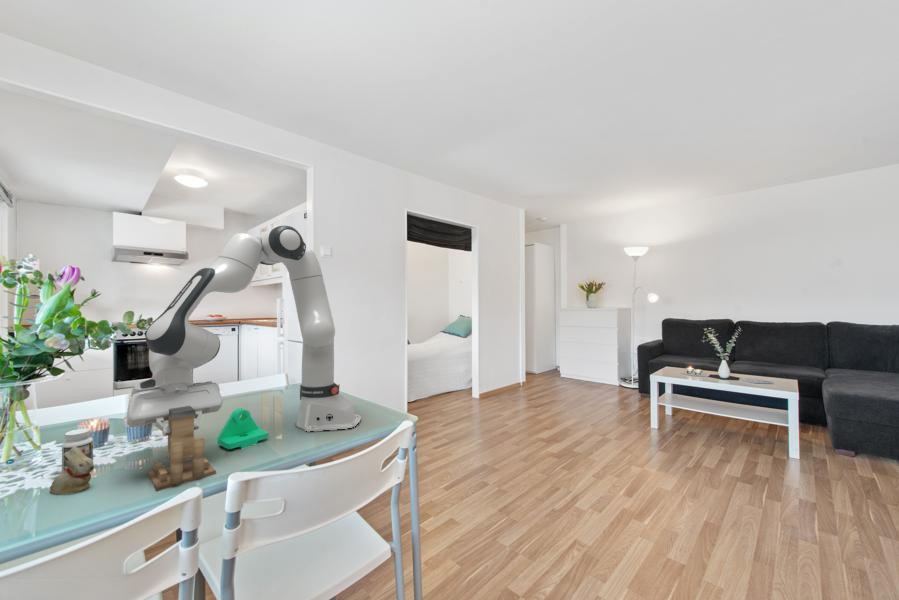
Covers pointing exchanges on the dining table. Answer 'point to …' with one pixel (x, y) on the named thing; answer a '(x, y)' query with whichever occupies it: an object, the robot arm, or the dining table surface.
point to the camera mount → (240, 431)
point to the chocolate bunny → (73, 473)
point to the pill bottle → (77, 444)
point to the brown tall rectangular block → (181, 429)
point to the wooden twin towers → (181, 466)
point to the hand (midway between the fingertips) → (181, 431)
